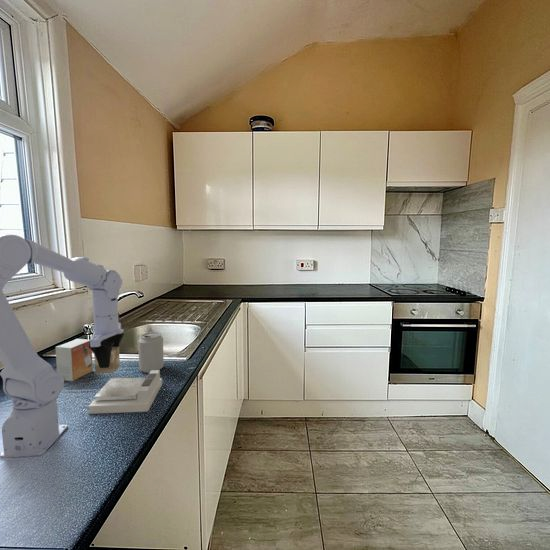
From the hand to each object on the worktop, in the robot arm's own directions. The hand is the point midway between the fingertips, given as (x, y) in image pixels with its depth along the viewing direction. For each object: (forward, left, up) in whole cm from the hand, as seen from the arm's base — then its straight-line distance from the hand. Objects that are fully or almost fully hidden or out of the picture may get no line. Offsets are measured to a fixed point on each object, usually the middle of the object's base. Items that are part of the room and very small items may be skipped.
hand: (108, 363), depth 82 cm
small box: (+14, +16, -10) cm, 23 cm away
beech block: (0, 0, -2) cm, 2 cm away
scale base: (-1, -5, -9) cm, 11 cm away
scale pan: (-1, -4, -7) cm, 8 cm away
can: (+17, -6, -10) cm, 20 cm away
